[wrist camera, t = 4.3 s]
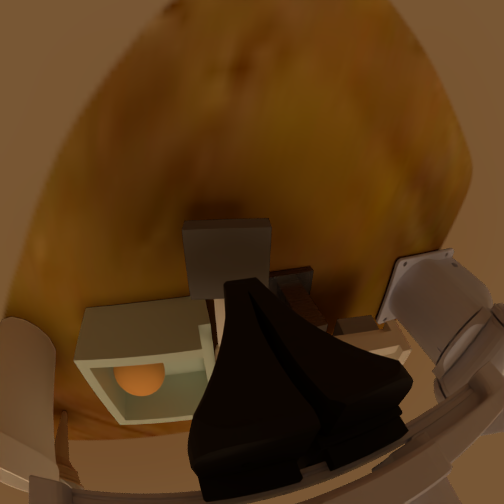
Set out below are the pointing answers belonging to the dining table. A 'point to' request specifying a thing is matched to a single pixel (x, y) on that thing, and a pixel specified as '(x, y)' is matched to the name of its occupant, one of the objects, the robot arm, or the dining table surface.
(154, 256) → the dining table surface
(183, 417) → the cup
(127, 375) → the ball
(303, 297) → the lever stand
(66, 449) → the ice cream cone
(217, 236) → the lever board
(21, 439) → the foam cup
